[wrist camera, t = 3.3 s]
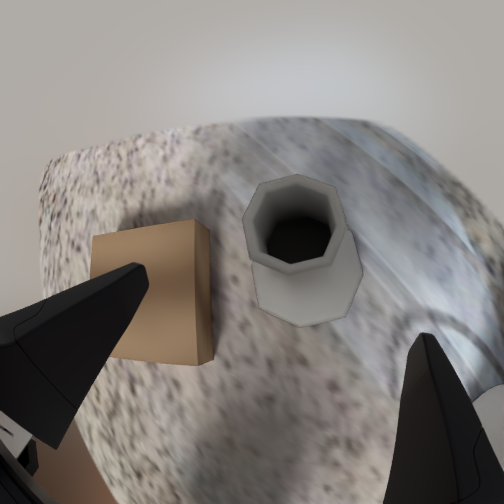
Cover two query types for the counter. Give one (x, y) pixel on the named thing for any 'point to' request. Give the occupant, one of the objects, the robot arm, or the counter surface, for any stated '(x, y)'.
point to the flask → (301, 251)
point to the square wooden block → (164, 291)
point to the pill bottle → (493, 418)
